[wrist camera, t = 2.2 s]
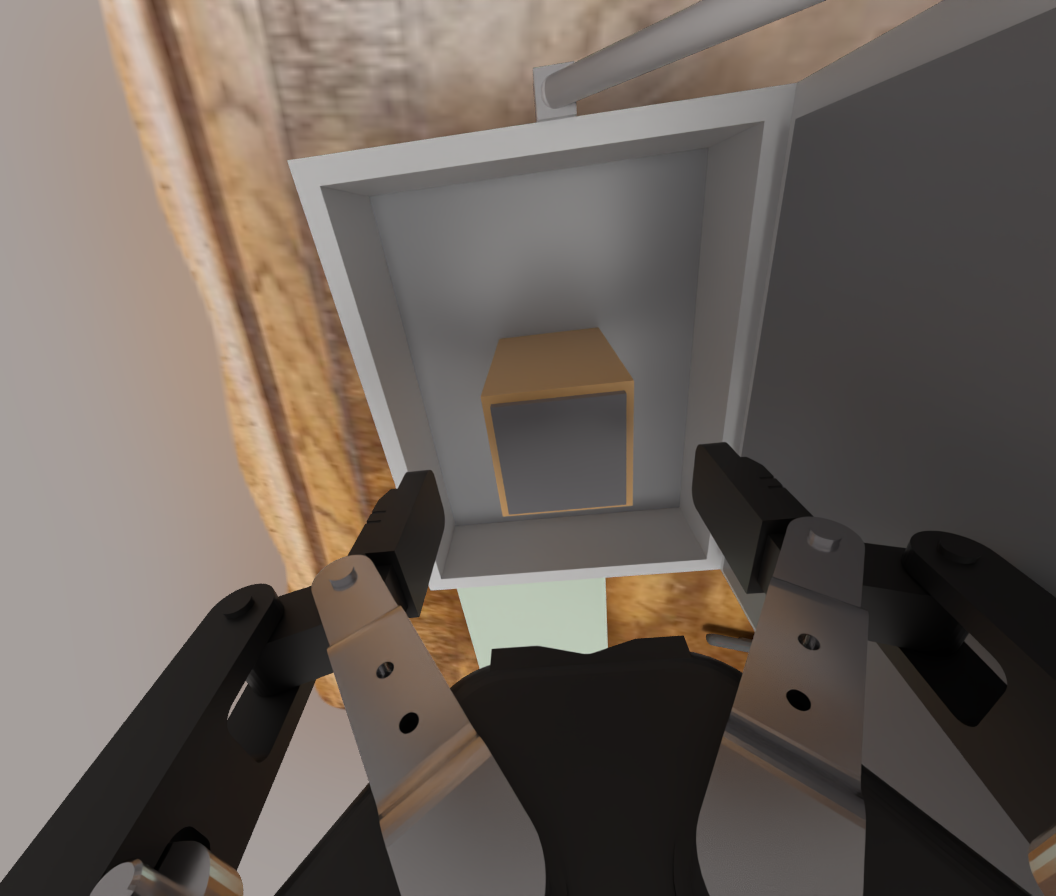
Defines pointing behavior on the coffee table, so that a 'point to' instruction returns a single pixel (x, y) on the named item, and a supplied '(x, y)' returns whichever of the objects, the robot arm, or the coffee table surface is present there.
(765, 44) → the coffee table surface
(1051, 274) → the equipment case
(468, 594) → the pad
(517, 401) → the block
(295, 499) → the coffee table surface
